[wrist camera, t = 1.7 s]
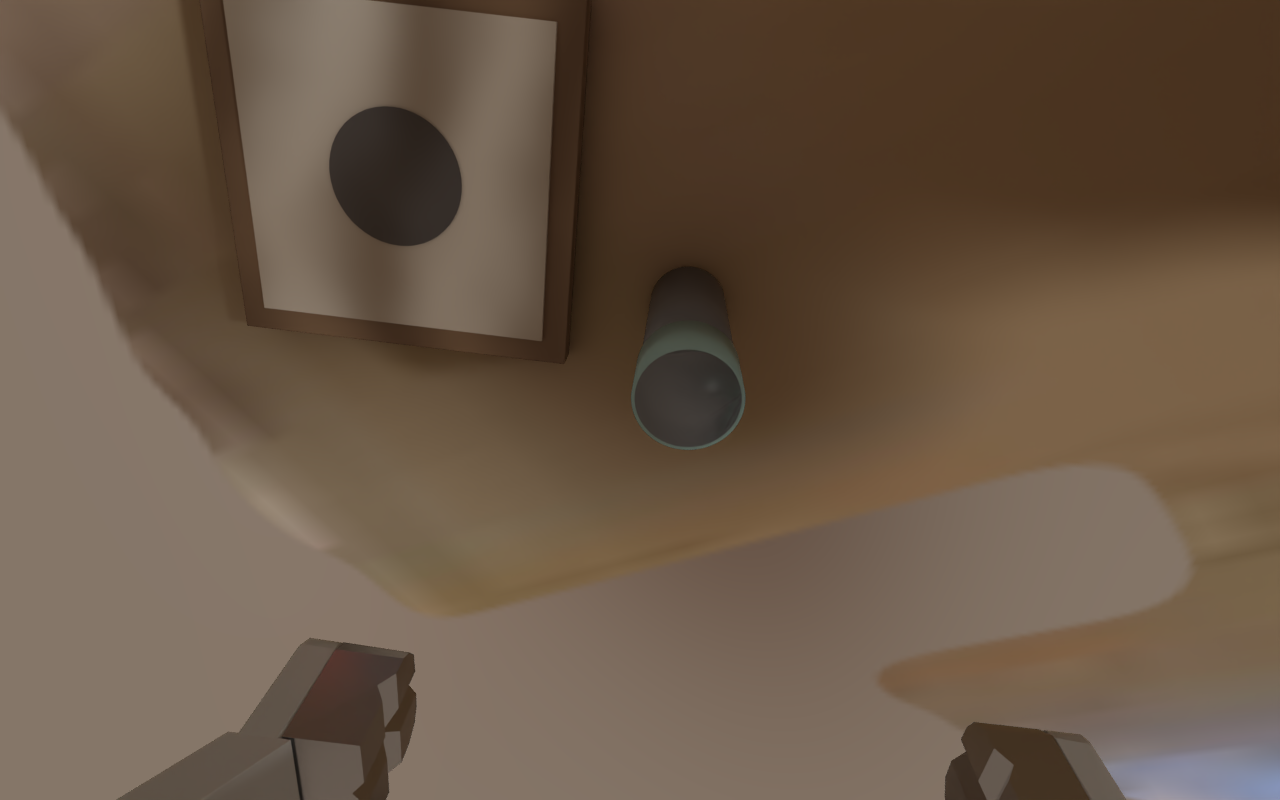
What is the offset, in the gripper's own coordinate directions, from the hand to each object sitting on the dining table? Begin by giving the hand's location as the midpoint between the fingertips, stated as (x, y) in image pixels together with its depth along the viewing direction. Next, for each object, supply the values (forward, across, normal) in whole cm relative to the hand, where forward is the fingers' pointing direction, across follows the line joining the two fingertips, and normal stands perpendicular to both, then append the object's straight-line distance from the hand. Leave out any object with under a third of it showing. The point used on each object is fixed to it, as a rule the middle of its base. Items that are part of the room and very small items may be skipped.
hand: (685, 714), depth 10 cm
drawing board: (+21, +12, -4) cm, 25 cm away
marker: (+21, 0, 0) cm, 21 cm away
